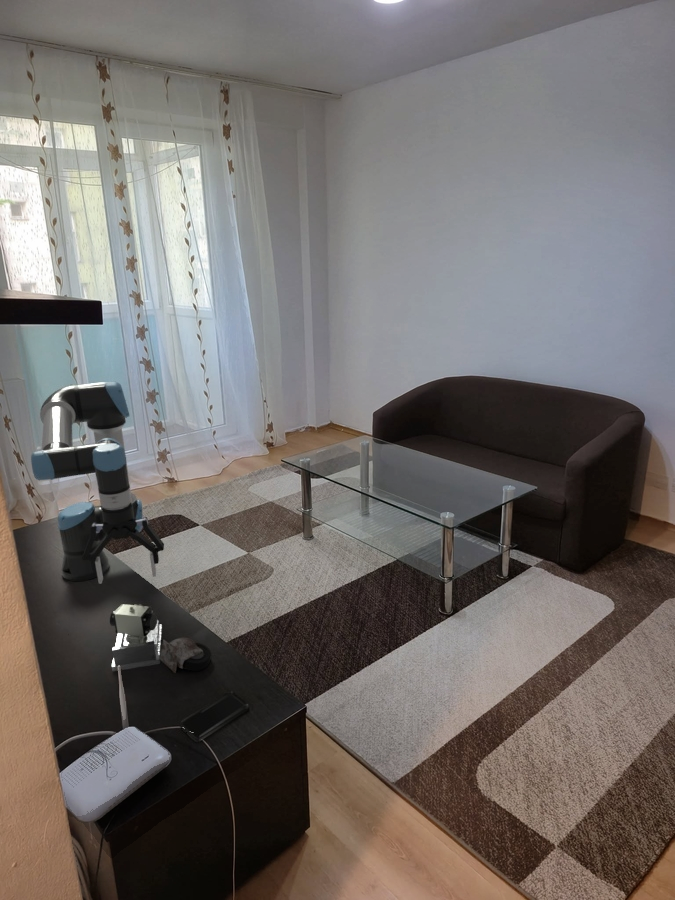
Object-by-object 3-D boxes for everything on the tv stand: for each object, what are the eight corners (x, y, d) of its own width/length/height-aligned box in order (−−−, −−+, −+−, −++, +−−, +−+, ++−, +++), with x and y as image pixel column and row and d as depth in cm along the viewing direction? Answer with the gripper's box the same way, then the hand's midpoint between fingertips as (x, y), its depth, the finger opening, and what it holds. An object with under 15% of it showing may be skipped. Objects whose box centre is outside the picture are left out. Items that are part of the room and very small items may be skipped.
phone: (250, 705, 148) (196, 740, 138) (250, 709, 148) (197, 744, 139) (230, 689, 153) (177, 722, 143) (231, 693, 154) (178, 726, 144)
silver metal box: (119, 635, 177) (115, 615, 175) (162, 628, 179) (159, 609, 177) (112, 671, 162) (109, 650, 160) (159, 663, 164) (156, 643, 162)
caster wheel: (214, 669, 166) (184, 684, 158) (188, 645, 172) (158, 659, 164) (218, 649, 164) (188, 664, 156) (191, 626, 170) (161, 639, 162)
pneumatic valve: (152, 651, 167) (147, 613, 163) (113, 647, 169) (107, 609, 165) (162, 639, 172) (157, 602, 168) (123, 634, 174) (117, 598, 170)
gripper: (61, 516, 151) (75, 591, 158) (166, 505, 156) (176, 578, 163) (67, 504, 158) (80, 576, 165) (167, 493, 163) (176, 564, 170)
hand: (128, 577), depth 164 cm, fingers open, 13 cm apart
